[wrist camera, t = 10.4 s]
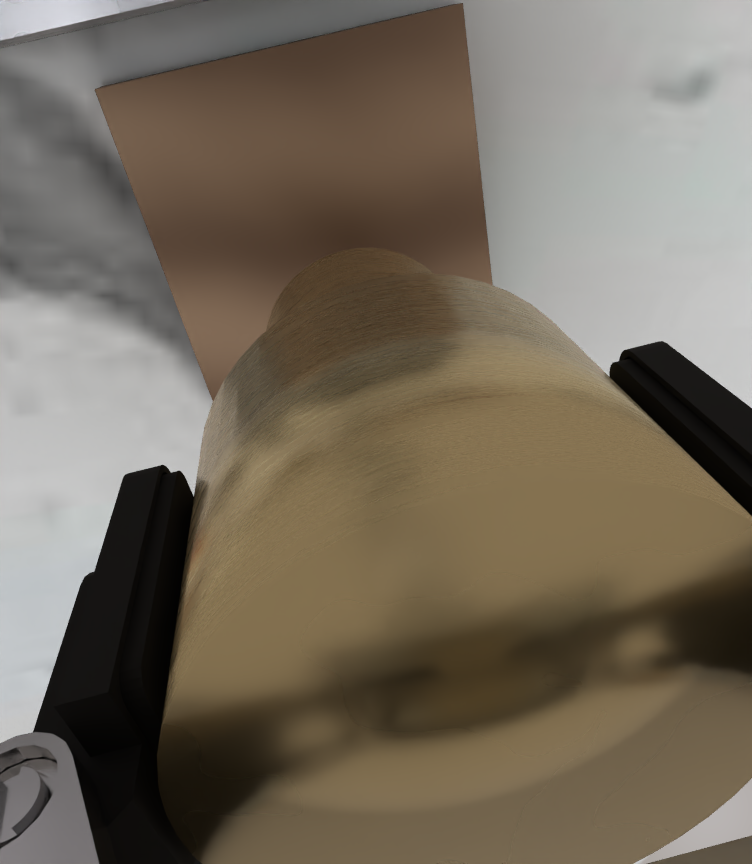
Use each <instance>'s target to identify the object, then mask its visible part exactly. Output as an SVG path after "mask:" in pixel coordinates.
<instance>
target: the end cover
mask: <svg viewBox="0 0 752 864" xmlns="http://www.w3.org/2000/svg"><path fill="white" fill-rule="evenodd" d="M157 773H158V788H159V792H160V795H161V799H162V803H163V806H164V810H165V813H166V815H167V817H168V819H169V821H170V823H171V825H172V827H173V828H174V830H175V832H176V834H177V836H178V838H179V839H180V840H181V841H182V842H183V844H184V845H185V846H186V847H187V849H188V850H189V851H190V852H191V853H192V855H193V856H194V857H195V858H196V859H197V860H198V861H199V862H201V863H202V864H633V863H635V862H637V861H639V860H641V859H643V858H645V857H646V856H648V855H650V854H652V853H654V852H655V851H657V850H659V849H661V848H662V847H664V846H665V845H667V844H669V843H670V842H672V841H674V840H675V839H677V838H679V837H680V836H682V835H683V834H685V833H686V832H688V831H689V830H690V829H692V828H693V827H695V826H696V825H697V824H699V823H700V822H702V821H703V820H705V819H706V818H707V817H709V816H710V815H711V814H712V813H714V812H715V811H716V810H717V809H718V808H719V807H721V806H722V805H723V804H724V803H726V802H727V801H728V800H729V799H731V798H732V797H733V796H734V795H735V794H736V793H737V792H738V791H739V790H740V789H741V788H742V787H743V786H744V785H745V784H746V783H747V782H748V781H749V780H750V779H751V778H752V516H751V515H750V514H749V513H748V512H747V511H746V510H745V509H744V508H743V507H742V506H741V505H740V504H739V503H738V502H737V501H736V500H735V499H734V498H733V497H732V496H731V495H730V494H729V493H728V492H727V491H726V490H725V489H723V488H722V487H721V486H720V485H719V484H718V483H717V482H716V481H715V480H714V479H713V478H712V477H711V476H710V475H709V474H708V473H707V472H706V471H705V470H704V469H703V468H702V467H701V466H700V465H699V464H698V463H697V462H696V461H695V460H694V459H693V458H692V457H691V456H690V455H689V454H688V453H687V452H686V451H685V450H684V449H683V448H682V447H681V446H680V445H678V444H677V443H676V442H675V441H674V440H673V439H672V438H671V437H670V436H669V435H668V434H667V433H666V432H665V431H664V430H663V429H662V428H661V427H660V426H659V425H658V424H657V423H656V422H655V421H654V420H653V419H652V418H651V417H650V416H649V415H648V414H647V413H646V412H645V411H644V410H643V409H642V408H641V407H640V406H639V405H638V404H637V403H636V402H635V401H633V400H632V399H631V398H630V397H629V396H628V395H627V394H626V393H625V392H624V391H623V390H622V389H621V388H620V387H619V386H618V385H617V384H616V383H615V382H614V381H613V380H612V379H611V378H610V377H609V376H608V375H607V374H606V373H605V372H604V371H603V370H602V369H601V368H600V367H599V366H598V365H597V364H596V363H595V362H594V361H593V360H592V359H591V358H590V357H588V356H587V355H586V354H585V353H584V352H583V351H582V350H581V349H580V348H579V347H578V346H577V345H576V344H575V343H574V342H573V341H572V340H571V339H570V338H569V337H568V336H567V335H566V334H565V333H564V332H563V331H562V330H561V329H560V328H559V327H558V326H557V325H556V324H555V323H554V322H553V321H552V320H550V319H549V318H548V317H547V316H545V315H544V314H543V313H542V312H540V311H539V310H538V309H537V308H535V307H534V306H533V305H531V304H530V303H528V302H526V301H524V300H522V299H521V298H519V297H517V296H515V295H514V294H512V293H510V292H508V291H505V290H503V289H500V288H498V287H495V286H492V285H490V284H487V283H485V282H481V281H476V280H472V279H468V278H463V277H459V276H453V275H442V274H434V273H433V272H432V271H431V270H429V269H428V268H427V267H425V266H424V265H423V264H421V263H420V262H418V261H416V260H414V259H413V258H411V257H409V256H406V255H404V254H401V253H398V252H395V251H391V250H386V249H379V248H355V249H349V250H343V251H340V252H337V253H334V254H330V255H328V256H326V257H324V258H321V259H319V260H317V261H316V262H314V263H312V264H311V265H309V266H308V267H306V268H305V269H303V270H302V271H301V272H300V273H299V274H297V275H296V276H295V277H294V278H293V279H292V280H291V281H290V282H289V283H288V285H287V286H286V287H285V288H284V290H283V291H282V293H281V294H280V295H279V297H278V299H277V300H276V302H275V304H274V306H273V308H272V311H271V314H270V317H269V319H268V323H267V328H266V332H264V333H263V334H262V335H261V336H260V337H259V338H258V339H257V340H256V341H255V342H254V343H253V344H252V345H251V346H250V347H249V348H248V349H247V350H246V352H245V353H244V354H243V355H242V356H241V357H240V358H239V360H238V361H237V362H236V364H235V365H234V367H233V368H232V370H231V371H230V372H229V374H228V375H227V377H226V378H225V379H224V381H223V383H222V385H221V387H220V389H219V391H218V393H217V395H216V397H215V399H214V401H213V403H212V406H211V409H210V412H209V415H208V418H207V421H206V424H205V427H204V433H203V439H202V446H201V452H200V459H199V466H198V473H197V480H196V487H195V494H194V501H193V508H192V515H191V522H190V529H189V536H188V543H187V550H186V557H185V564H184V571H183V578H182V585H181V592H180V599H179V606H178V613H177V620H176V627H175V634H174V640H173V647H172V654H171V661H170V668H169V675H168V682H167V689H166V696H165V703H164V710H163V717H162V724H161V731H160V738H159V745H158V752H157Z"/></svg>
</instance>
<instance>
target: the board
mask: <svg viewBox="0 0 752 864" xmlns="http://www.w3.org/2000/svg"><path fill="white" fill-rule="evenodd" d="M95 92H96V95H97V97H98V100H99V102H100V105H101V108H102V110H103V113H104V116H105V118H106V121H107V123H108V126H109V129H110V131H111V134H112V137H113V139H114V142H115V145H116V147H117V150H118V152H119V155H120V158H121V160H122V163H123V166H124V168H125V171H126V174H127V176H128V179H129V181H130V184H131V187H132V189H133V192H134V195H135V197H136V200H137V203H138V205H139V208H140V210H141V213H142V216H143V218H144V221H145V224H146V226H147V229H148V231H149V234H150V237H151V239H152V242H153V245H154V247H155V250H156V253H157V255H158V258H159V260H160V263H161V266H162V268H163V271H164V274H165V276H166V279H167V282H168V284H169V287H170V289H171V292H172V295H173V297H174V300H175V303H176V305H177V308H178V311H179V313H180V316H181V318H182V321H183V324H184V326H185V329H186V332H187V334H188V337H189V340H190V342H191V345H192V347H193V350H194V353H195V355H196V358H197V361H198V363H199V366H200V368H201V371H202V374H203V376H204V379H205V382H206V384H207V387H208V390H209V392H210V395H211V397H212V400H213V401H214V399H215V397H216V395H217V393H218V391H219V389H220V387H221V385H222V383H223V381H224V379H225V378H226V377H227V375H228V374H229V372H230V371H231V370H232V368H233V367H234V365H235V364H236V362H237V361H238V360H239V358H240V357H241V356H242V355H243V354H244V353H245V352H246V350H247V349H248V348H249V347H250V346H251V345H252V344H253V343H254V342H255V341H256V340H257V339H258V338H259V337H260V336H261V335H262V334H263V333H264V332H266V328H267V323H268V319H269V317H270V314H271V311H272V308H273V306H274V304H275V302H276V300H277V299H278V297H279V295H280V294H281V293H282V291H283V290H284V288H285V287H286V286H287V285H288V283H289V282H290V281H291V280H292V279H293V278H294V277H295V276H296V275H297V274H299V273H300V272H301V271H302V270H303V269H305V268H306V267H308V266H309V265H311V264H312V263H314V262H316V261H317V260H319V259H321V258H324V257H326V256H328V255H330V254H334V253H337V252H340V251H343V250H349V249H355V248H379V249H386V250H391V251H395V252H398V253H401V254H404V255H406V256H409V257H411V258H413V259H414V260H416V261H418V262H420V263H421V264H423V265H424V266H425V267H427V268H428V269H429V270H431V271H432V272H433V273H434V274H442V275H453V276H459V277H463V278H468V279H472V280H476V281H481V282H485V283H487V284H490V285H492V276H491V267H490V257H489V248H488V238H487V229H486V219H485V210H484V200H483V191H482V181H481V171H480V162H479V152H478V143H477V133H476V124H475V114H474V105H473V95H472V86H471V76H470V67H469V57H468V48H467V38H466V29H465V19H464V10H463V3H461V4H453V5H449V6H444V7H440V8H436V9H432V10H427V11H423V12H419V13H414V14H410V15H406V16H402V17H397V18H393V19H389V20H385V21H380V22H376V23H372V24H367V25H363V26H359V27H355V28H350V29H346V30H342V31H338V32H333V33H329V34H325V35H320V36H316V37H312V38H308V39H303V40H299V41H295V42H291V43H286V44H282V45H278V46H273V47H269V48H265V49H261V50H256V51H252V52H248V53H244V54H239V55H235V56H231V57H226V58H222V59H218V60H214V61H209V62H205V63H201V64H196V65H192V66H188V67H184V68H179V69H175V70H171V71H167V72H162V73H158V74H154V75H149V76H145V77H141V78H137V79H132V80H128V81H124V82H120V83H115V84H111V85H107V86H102V87H99V88H97V89H95Z"/></svg>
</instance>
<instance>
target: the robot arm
mask: <svg viewBox="0 0 752 864" xmlns="http://www.w3.org/2000/svg"><path fill="white" fill-rule="evenodd" d="M610 378H611V379H612V380H613V381H614V382H615V383H616V384H617V385H618V386H619V387H620V388H621V389H622V390H623V391H624V392H625V393H626V394H627V395H628V396H629V397H630V398H631V399H632V400H633V401H635V402H636V403H637V404H638V405H639V406H640V407H641V408H642V409H643V410H644V411H645V412H646V413H647V414H648V415H649V416H650V417H651V418H652V419H653V420H654V421H655V422H656V423H657V424H658V425H659V426H660V427H661V428H662V429H663V430H664V431H665V432H666V433H667V434H668V435H669V436H670V437H671V438H672V439H673V440H674V441H675V442H676V443H677V444H678V445H680V446H681V447H682V448H683V449H684V450H685V451H686V452H687V453H688V454H689V455H690V456H691V457H692V458H693V459H694V460H695V461H696V462H697V463H698V464H699V465H700V466H701V467H702V468H703V469H704V470H705V471H706V472H707V473H708V474H709V475H710V476H711V477H712V478H713V479H714V480H715V481H716V482H717V483H718V484H719V485H720V486H721V487H722V488H723V489H725V490H726V491H727V492H728V493H729V494H730V495H731V496H732V497H733V498H734V499H735V500H736V501H737V502H738V503H739V504H740V505H741V506H742V507H743V508H744V509H745V510H746V511H747V512H748V513H749V514H750V515H751V516H752V408H751V407H749V406H748V405H747V404H745V403H744V402H743V401H741V400H740V399H739V398H737V397H736V396H735V395H734V394H732V393H731V392H730V391H728V390H727V389H726V388H724V387H723V386H722V385H720V384H719V383H718V382H717V381H715V380H714V379H713V378H711V377H710V376H709V375H707V374H706V373H705V372H704V371H702V370H701V369H700V368H698V367H697V366H696V365H694V364H693V363H692V362H690V361H689V360H688V359H687V358H685V357H684V356H683V355H681V354H680V353H679V352H677V351H676V350H675V349H673V348H672V347H671V346H670V345H668V344H667V343H665V342H663V341H661V342H655V343H651V344H647V345H643V346H639V347H635V348H631V349H627V350H624V351H623V352H622V353H621V356H620V359H619V361H618V362H614V363H613V364H612V365H611V367H610ZM193 501H194V497H193V494H192V492H191V490H190V487H189V485H188V483H187V480H186V478H185V476H184V475H183V473H182V472H181V471H176V472H172V473H171V472H170V471H169V469H168V468H167V467H166V466H164V465H161V466H157V467H153V468H148V469H144V470H140V471H136V472H132V473H128V474H126V475H125V476H124V478H123V480H122V483H121V487H120V490H119V493H118V496H117V500H116V503H115V506H114V510H113V513H112V516H111V519H110V523H109V526H108V529H107V532H106V536H105V539H104V542H103V546H102V549H101V552H100V555H99V559H98V562H97V565H96V568H95V572H92V573H89V574H88V575H87V576H85V577H84V579H83V581H82V583H81V585H80V588H79V592H78V595H77V598H76V601H75V604H74V607H73V610H72V613H71V616H70V619H69V623H68V626H67V629H66V632H65V635H64V638H63V641H62V644H61V647H60V650H59V653H58V657H57V660H56V663H55V666H54V669H53V672H52V675H51V678H50V681H49V684H48V687H47V691H46V694H45V697H44V700H43V703H42V706H41V709H40V712H39V715H38V718H37V722H36V725H35V728H34V731H33V733H28V734H24V735H19V736H15V737H13V738H11V739H9V740H6V741H4V742H2V743H0V864H202V863H201V862H199V861H198V860H197V859H196V858H195V857H194V856H193V855H192V853H191V852H190V851H189V850H188V849H187V847H186V846H185V845H184V844H183V842H182V841H181V840H180V839H179V838H178V836H177V834H176V832H175V830H174V828H173V827H172V825H171V823H170V821H169V819H168V817H167V815H166V813H165V810H164V806H163V803H162V799H161V795H160V792H159V788H158V773H157V752H158V745H159V738H160V731H161V724H162V717H163V710H164V703H165V696H166V689H167V682H168V675H169V668H170V661H171V654H172V647H173V640H174V634H175V627H176V620H177V613H178V606H179V599H180V592H181V585H182V578H183V571H184V564H185V557H186V550H187V543H188V536H189V529H190V522H191V515H192V508H193ZM648 864H752V836H749V837H745V838H741V839H737V840H734V841H730V842H726V843H722V844H719V845H715V846H712V847H707V848H704V849H700V850H696V851H692V852H689V853H685V854H682V855H677V856H674V857H670V858H667V859H663V860H659V861H655V862H651V863H648Z"/></svg>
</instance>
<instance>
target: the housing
mask: <svg viewBox="0 0 752 864" xmlns="http://www.w3.org/2000/svg"><path fill="white" fill-rule="evenodd" d="M202 1H207V0H0V48H4V47H8V46H12V45H16V44H21V43H25V42H29V41H34V40H38V39H42V38H47V37H51V36H55V35H60V34H64V33H68V32H73V31H77V30H81V29H86V28H90V27H94V26H99V25H103V24H107V23H112V22H116V21H120V20H125V19H129V18H133V17H137V16H142V15H146V14H150V13H155V12H159V11H163V10H168V9H172V8H176V7H181V6H185V5H189V4H194V3H198V2H202Z"/></svg>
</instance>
